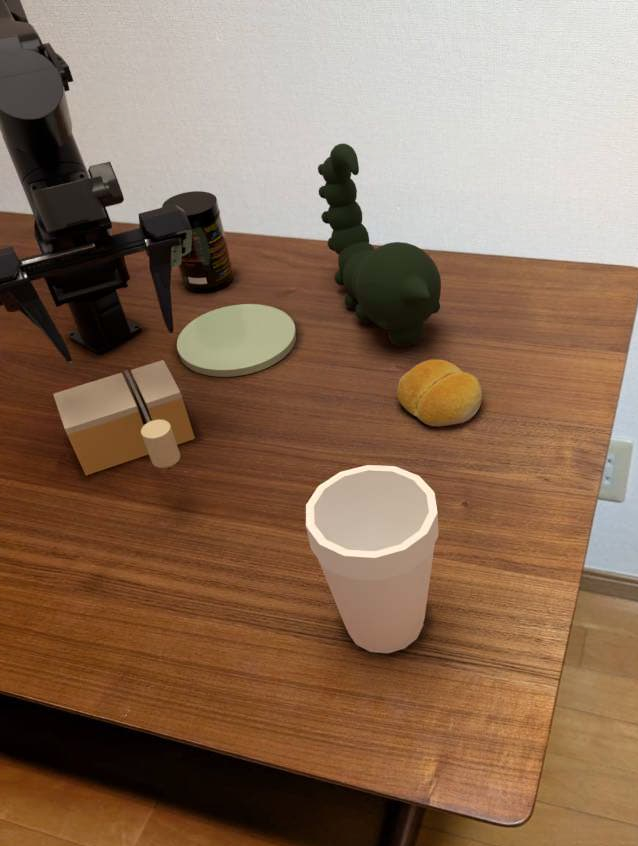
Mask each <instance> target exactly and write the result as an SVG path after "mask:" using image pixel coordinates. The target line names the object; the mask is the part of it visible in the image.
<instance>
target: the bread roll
mask: <svg viewBox="0 0 638 846" xmlns="http://www.w3.org/2000/svg"><path fill="white" fill-rule="evenodd" d="M397 385H398V386H397V388H396V389H397V390H396V396H397V400H398V402H399V403H400V405H401V407H403V408H404V409H405V410H406V411H407V412H408V413H410V414H411V415H413V416H415V417H417V419H418V420H419V421H421V422H422V423H423V424H425V425H427V426H431V427H446V426H452V425H458V424H463V423H465V422H467V421H470V420H471V419H472V418H473V417H474V416H475V415H476V413H477V412H478V411H479V409H480V407H481V405H482V401H483V389H482V388H483V387H482V386H481V384H480V382H479V380H478V378H477V377H476V376H474V375H473V374H471V373H469V372H465V371H463V370H462V369H461V368H459V367H458V366H457V365H455V364H454V363H452V362H449V361H447V360H444V359H432V358H431V359H428V360H425V361H422V362H420V363H418V364H416V365H415V366H413V367H411V369H409V371H407V372H406V373H404V374H403V375H402V377H401V378H400V379H399V381H398V384H397Z"/></svg>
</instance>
